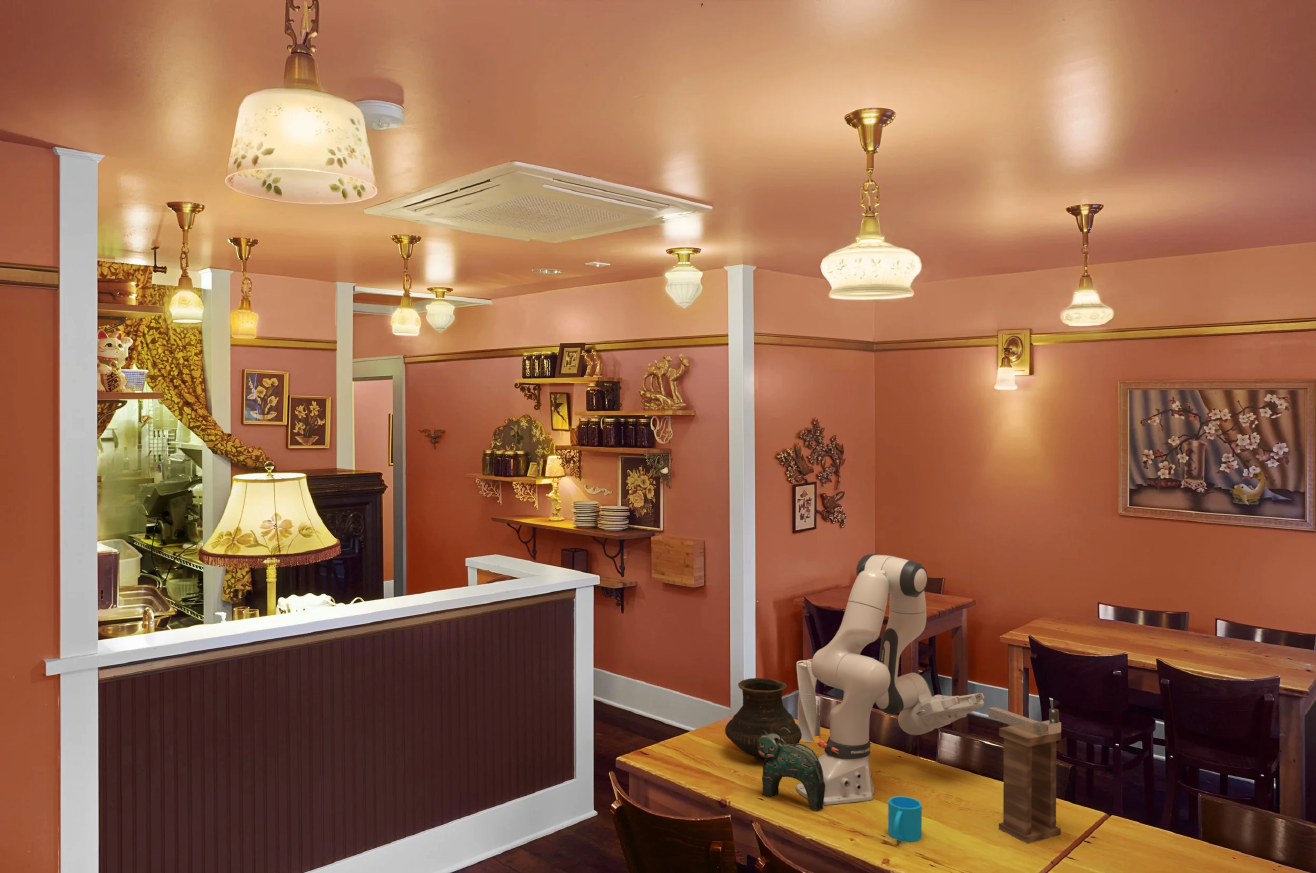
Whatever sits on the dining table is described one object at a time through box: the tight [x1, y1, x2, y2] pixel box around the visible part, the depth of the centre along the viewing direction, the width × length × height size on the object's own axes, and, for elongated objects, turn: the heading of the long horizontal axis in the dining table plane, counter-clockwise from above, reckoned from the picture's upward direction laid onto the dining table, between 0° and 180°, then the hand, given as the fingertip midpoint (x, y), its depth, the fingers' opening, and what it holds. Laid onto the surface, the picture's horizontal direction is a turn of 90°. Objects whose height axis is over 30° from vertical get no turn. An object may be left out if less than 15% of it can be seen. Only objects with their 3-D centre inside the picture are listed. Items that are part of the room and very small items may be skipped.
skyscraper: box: [796, 658, 821, 742], centre depth 293 cm, size 8×8×28 cm
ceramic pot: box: [724, 677, 802, 760], centre depth 278 cm, size 24×24×22 cm
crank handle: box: [987, 706, 1062, 736], centre depth 229 cm, size 17×7×6 cm, turn 26°
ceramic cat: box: [757, 727, 825, 812], centre depth 242 cm, size 20×6×20 cm, turn 50°
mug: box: [887, 795, 923, 843], centre depth 220 cm, size 12×8×8 cm
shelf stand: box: [998, 725, 1062, 844], centre depth 224 cm, size 12×9×26 cm
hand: (970, 697), depth 252 cm, fingers open, 8 cm apart
